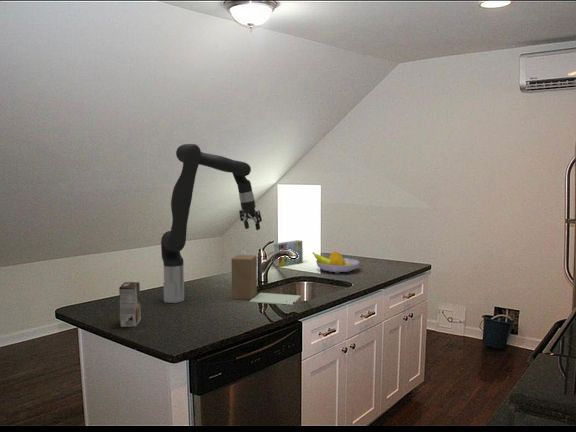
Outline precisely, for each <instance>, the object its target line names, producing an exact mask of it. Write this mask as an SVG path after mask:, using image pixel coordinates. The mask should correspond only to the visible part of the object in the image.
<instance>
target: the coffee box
mask: <svg viewBox="0 0 576 432" xmlns="http://www.w3.org/2000/svg"><path fill="white" fill-rule="evenodd" d="M140 286H141V285H140V281H138V282H136V281H135V282H134V281H128V282H127V281H125V282H123V283H122V284H121V285H120V286H119V287H118V288H119V290H118V291H119V315H120V316H119V319H120V322H119V323H120V327H121V328H126V327H127V328H128V327H132V328H133V327H137V326H138V325H139V323H140V321H141V319H142V315H141V314H142V313H141V311H142V310H141V289H140Z"/></svg>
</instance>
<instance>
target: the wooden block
mask: <svg viewBox="0 0 576 432" xmlns="http://www.w3.org/2000/svg"><path fill="white" fill-rule="evenodd" d="M230 261H231V262H230V263H231V299H232V300H245V301H246V300H247V301H250V300H251V299H253V298H254V297H256V296H257V295H258V288H257V287H258V282H257V280H258V277H257V276H258V275H257V271H258V270H257V268H258V267H257V261H258V259H257V255H251V254H250V255H248V254H247V255H246V254H236V255H235V256H234V257H231V260H230Z"/></svg>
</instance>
